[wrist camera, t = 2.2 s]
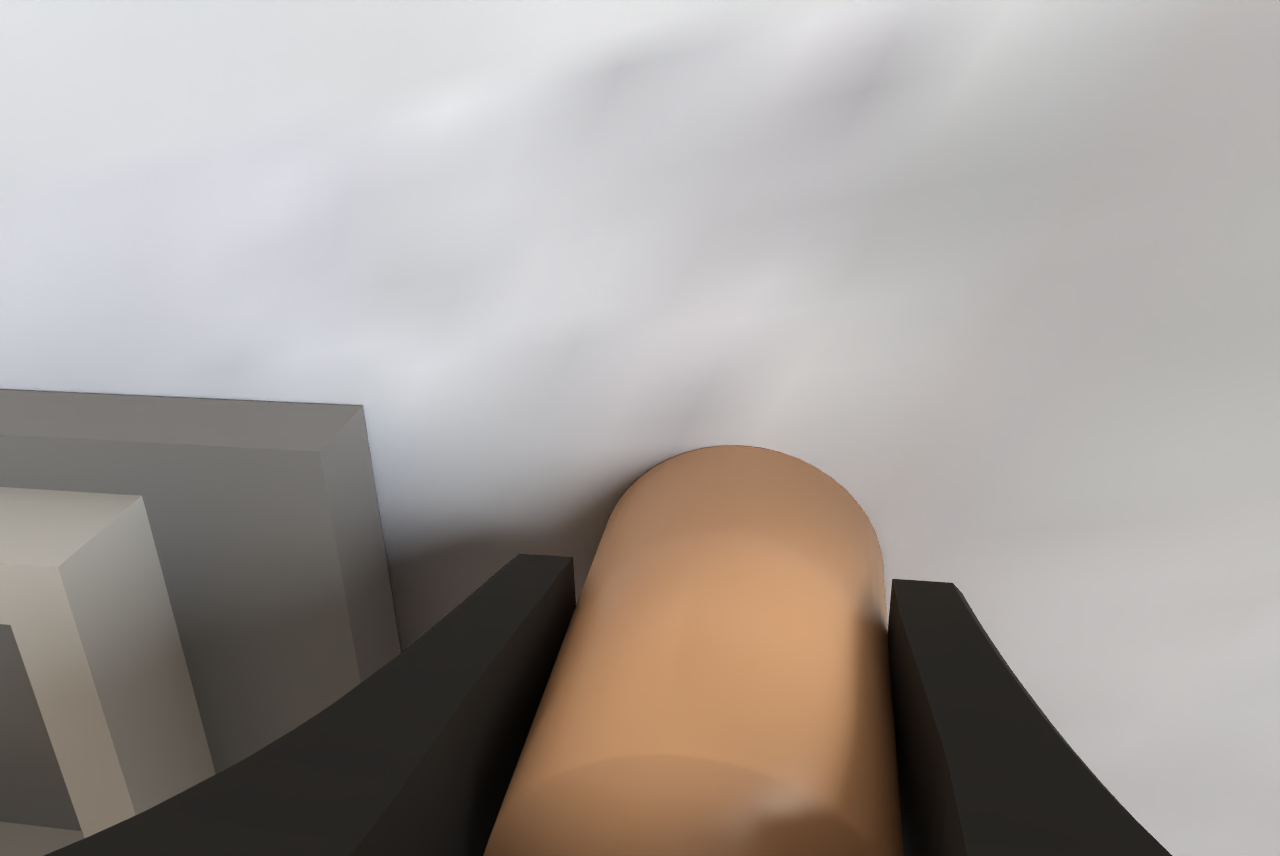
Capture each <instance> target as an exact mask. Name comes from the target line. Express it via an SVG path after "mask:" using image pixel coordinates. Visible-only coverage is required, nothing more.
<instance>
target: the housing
mask: <svg viewBox="0 0 1280 856" xmlns="http://www.w3.org/2000/svg"><path fill="white" fill-rule="evenodd" d="M399 654H401V649H400V642H399V636H398V629H397V623H396V617H395V610H394V604H393V597H392V591H391V584H390V578H389V571H388V565H387V559H386V552H385V546H384V539H383V533H382V526H381V520H380V513H379V507H378V501H377V494H376V488H375V481H374V475H373V468H372V462H371V455H370V449H369V443H368V436H367V430H366V423H365V417H364V410H363V406H354V405H332V404H310V403H288V402H266V401H244V400H222V399H200V398H178V397H156V396H134V395H112V394H90V393H68V392H46V391H24V390H2V389H0V856H44V855H46V854H49V853H51V852H53V851H56V850H58V849H60V848H63V847H65V846H68V845H70V844H72V843H75V842H77V841H80V840H82V839H84V838H87V837H89V836H91V835H94V834H96V833H98V832H100V831H102V830H105V829H107V828H109V827H111V826H113V825H116V824H118V823H120V822H122V821H124V820H127V819H129V818H131V817H133V816H135V815H138V814H140V813H142V812H144V811H146V810H148V809H150V808H152V807H154V806H156V805H158V804H160V803H162V802H164V801H166V800H167V799H169V798H171V797H173V796H175V795H177V794H179V793H181V792H183V791H185V790H187V789H189V788H191V787H192V786H194V785H196V784H198V783H200V782H202V781H204V780H206V779H208V778H210V777H212V776H214V775H216V774H217V773H219V772H221V771H223V770H225V769H227V768H229V767H231V766H233V765H235V764H236V763H238V762H240V761H242V760H243V759H245V758H247V757H249V756H250V755H252V754H254V753H256V752H257V751H259V750H261V749H262V748H264V747H265V746H267V745H269V744H270V743H272V742H274V741H275V740H277V739H279V738H280V737H282V736H284V735H285V734H287V733H288V732H290V731H292V730H293V729H295V728H297V727H298V726H300V725H301V724H303V723H304V722H306V721H307V720H309V719H310V718H312V717H314V716H315V715H317V714H318V713H320V712H321V711H323V710H324V709H326V708H327V707H328V706H330V705H331V704H333V703H334V702H336V701H337V700H339V699H340V698H341V697H343V696H344V695H345V694H347V693H348V692H349V691H351V690H352V689H353V688H355V687H356V686H357V685H359V684H360V683H361V682H363V681H364V680H366V679H367V678H368V677H370V676H371V675H372V674H374V673H375V672H376V671H378V670H379V669H380V668H382V667H383V666H384V665H386V664H387V663H388V662H390V661H391V660H392V659H394V658H395V657H397V656H398V655H399Z"/></svg>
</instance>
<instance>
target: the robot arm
mask: <svg viewBox="0 0 1280 856" xmlns="http://www.w3.org/2000/svg"><path fill="white" fill-rule="evenodd" d="M575 608H576V598H575V583H574V568H573V557H559V556H544V555H529V554H519V555H518V556H516V557H515V558H514V559H513V560H511V561H510V562H509V563H508V564H506V565H505V566H504V567H503V568H502V569H501V570H499V571H498V572H497V573H496V574H495V575H494V576H492V577H491V578H490V579H489V580H488V581H487V582H485V583H484V584H483V585H482V586H481V587H480V588H478V589H477V590H476V591H475V592H474V593H473V594H471V595H470V596H469V597H468V598H467V599H466V600H464V601H463V602H462V603H461V604H460V605H459V606H457V607H456V608H455V609H454V610H453V611H452V612H450V613H449V614H448V615H447V616H446V617H445V618H443V619H442V620H441V621H440V622H439V623H437V624H436V625H435V626H434V627H433V628H431V629H430V630H429V631H428V632H426V633H425V634H424V635H423V636H422V637H420V638H419V639H418V640H417V641H415V642H414V643H413V644H412V645H411V646H409V647H408V648H407V649H406V650H404V651H403V652H402V653H401V654H399V655H398V656H397V657H395V658H394V659H392V660H391V661H390V662H388V663H387V664H386V665H384V666H383V667H382V668H380V669H379V670H378V671H376V672H375V673H374V674H372V675H371V676H370V677H368V678H367V679H366V680H364V681H363V682H361V683H360V684H359V685H357V686H356V687H355V688H353V689H352V690H351V691H349V692H348V693H347V694H345V695H344V696H343V697H341V698H340V699H339V700H337V701H336V702H334V703H333V704H331V705H330V706H328V707H327V708H326V709H324V710H323V711H321V712H320V713H318V714H317V715H315V716H314V717H312V718H310V719H309V720H307V721H306V722H304V723H303V724H301V725H300V726H298V727H297V728H295V729H293V730H292V731H290V732H288V733H287V734H285V735H284V736H282V737H280V738H279V739H277V740H275V741H274V742H272V743H270V744H269V745H267V746H265V747H264V748H262V749H261V750H259V751H257V752H256V753H254V754H252V755H250V756H249V757H247V758H245V759H243V760H242V761H240V762H238V763H236V764H235V765H233V766H231V767H229V768H227V769H225V770H223V771H221V772H219V773H217V774H216V775H214V776H212V777H210V778H208V779H206V780H204V781H202V782H200V783H198V784H196V785H194V786H192V787H191V788H189V789H187V790H185V791H183V792H181V793H179V794H177V795H175V796H173V797H171V798H169V799H167V800H166V801H164V802H162V803H160V804H158V805H156V806H154V807H152V808H150V809H148V810H146V811H144V812H142V813H140V814H138V815H135V816H133V817H131V818H129V819H127V820H124V821H122V822H120V823H118V824H116V825H113V826H111V827H109V828H107V829H105V830H102V831H100V832H98V833H96V834H94V835H91V836H89V837H87V838H84V839H82V840H80V841H77V842H75V843H72V844H70V845H68V846H65V847H63V848H60V849H58V850H56V851H53V852H51V853H49V854H46V855H44V856H483V855H484V852H485V849H486V846H487V844H488V841H489V838H490V835H491V832H492V830H493V827H494V824H495V822H496V819H497V816H498V814H499V811H500V808H501V806H502V803H503V800H504V798H505V795H506V792H507V790H508V787H509V784H510V782H511V779H512V776H513V774H514V771H515V768H516V766H517V763H518V760H519V758H520V755H521V752H522V750H523V747H524V744H525V741H526V739H527V736H528V733H529V731H530V728H531V725H532V723H533V720H534V717H535V715H536V712H537V709H538V707H539V704H540V701H541V699H542V696H543V693H544V691H545V688H546V685H547V683H548V680H549V677H550V675H551V672H552V669H553V667H554V664H555V661H556V659H557V656H558V653H559V651H560V648H561V645H562V643H563V640H564V637H565V635H566V632H567V629H568V626H569V624H570V621H571V618H572V616H573V613H574V610H575ZM888 646H889V661H890V675H891V689H892V701H893V711H894V722H895V736H896V750H897V764H898V779H899V793H900V807H901V821H902V835H903V850H904V856H1172V855H1171V854H1170V853H1169V852H1168V851H1167V850H1166V849H1165V848H1164V847H1163V846H1162V845H1161V844H1160V843H1159V842H1158V841H1157V840H1156V839H1155V838H1154V837H1153V836H1152V835H1151V834H1150V833H1148V832H1147V831H1146V830H1145V829H1144V828H1143V827H1142V826H1141V825H1140V824H1139V823H1138V822H1137V821H1136V820H1135V819H1134V818H1133V816H1132V815H1131V814H1130V813H1129V812H1128V811H1127V810H1126V809H1125V808H1124V807H1123V806H1122V805H1121V804H1120V803H1119V802H1118V801H1117V799H1116V798H1115V797H1114V796H1113V795H1112V794H1111V793H1110V792H1109V791H1108V790H1107V788H1106V787H1105V786H1104V785H1103V784H1102V783H1101V782H1100V781H1099V780H1098V778H1097V777H1096V776H1095V775H1094V774H1093V773H1092V771H1091V770H1090V769H1089V768H1088V767H1087V766H1086V764H1085V763H1084V762H1083V761H1082V760H1081V759H1080V757H1079V756H1078V755H1077V754H1076V753H1075V752H1074V751H1073V749H1072V748H1071V747H1070V746H1069V744H1068V743H1067V742H1066V741H1065V740H1064V738H1063V737H1062V736H1061V735H1060V733H1059V732H1058V731H1057V730H1056V728H1055V727H1054V726H1053V725H1052V723H1051V722H1050V721H1049V720H1048V718H1047V717H1046V716H1045V714H1044V713H1043V712H1042V710H1041V709H1040V708H1039V706H1038V705H1037V704H1036V702H1035V701H1034V700H1033V698H1032V697H1031V696H1030V694H1029V693H1028V692H1027V691H1026V689H1025V688H1024V687H1023V685H1022V684H1021V683H1020V681H1019V680H1018V678H1017V677H1016V676H1015V674H1014V673H1013V671H1012V670H1011V669H1010V667H1009V666H1008V664H1007V663H1006V662H1005V660H1004V659H1003V657H1002V656H1001V654H1000V653H999V651H998V650H997V648H996V647H995V645H994V644H993V642H992V641H991V639H990V638H989V636H988V635H987V633H986V632H985V630H984V629H983V627H982V625H981V624H980V622H979V621H978V619H977V617H976V616H975V614H974V613H973V611H972V609H971V608H970V606H969V604H968V603H967V601H966V599H965V597H964V596H963V594H962V593H961V592H960V591H959V589H958V588H957V587H956V586H955V585H954V584H953V583H945V582H931V581H916V580H901V579H892V590H891V601H890V612H889V623H888Z"/></svg>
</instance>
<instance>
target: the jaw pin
mask: <svg viewBox="0 0 1280 856" xmlns="http://www.w3.org/2000/svg"><path fill="white" fill-rule="evenodd" d="M483 856H904V850H903V835H902V821H901V807H900V793H899V779H898V764H897V750H896V736H895V722H894V711H893V701H892V689H891V675H890V661H889V646H888V623H887V608H886V594H885V580H884V566H883V559H882V553H881V548H880V545H879V541H878V538H877V535H876V533H875V530H874V528H873V526H872V524H871V522H870V520H869V518H868V517H867V515H866V514H865V512H864V511H863V509H862V508H861V506H860V505H859V504H858V502H857V501H856V500H855V499H854V498H853V497H852V496H851V495H850V494H849V492H848V491H847V490H846V489H845V488H843V487H842V486H841V485H840V484H839V483H837V482H836V481H835V480H834V479H833V478H832V477H830V476H828V475H827V474H825V473H824V472H822V471H821V470H819V469H818V468H816V467H814V466H812V465H810V464H808V463H806V462H804V461H802V460H800V459H798V458H795V457H792V456H789V455H787V454H784V453H781V452H777V451H773V450H768V449H764V448H758V447H749V446H717V447H709V448H702V449H698V450H694V451H690V452H686V453H683V454H681V455H678V456H676V457H673V458H670V459H668V460H666V461H664V462H662V463H661V464H659V465H657V466H655V467H653V468H652V469H650V470H649V471H648V472H646V473H645V474H644V475H642V476H641V477H640V478H638V479H637V480H636V481H635V482H634V483H633V484H632V485H631V486H630V487H629V488H628V489H627V490H626V492H625V493H624V494H623V496H622V497H621V498H620V500H619V501H618V502H617V504H616V506H615V508H614V509H613V511H612V513H611V515H610V517H609V520H608V522H607V525H606V528H605V530H604V533H603V536H602V538H601V541H600V544H599V546H598V549H597V552H596V554H595V557H594V560H593V562H592V565H591V568H590V570H589V573H588V576H587V578H586V581H585V584H584V586H583V589H582V592H581V594H580V597H579V600H578V602H577V605H576V608H575V610H574V613H573V616H572V618H571V621H570V624H569V626H568V629H567V632H566V635H565V637H564V640H563V643H562V645H561V648H560V651H559V653H558V656H557V659H556V661H555V664H554V667H553V669H552V672H551V675H550V677H549V680H548V683H547V685H546V688H545V691H544V693H543V696H542V699H541V701H540V704H539V707H538V709H537V712H536V715H535V717H534V720H533V723H532V725H531V728H530V731H529V733H528V736H527V739H526V741H525V744H524V747H523V750H522V752H521V755H520V758H519V760H518V763H517V766H516V768H515V771H514V774H513V776H512V779H511V782H510V784H509V787H508V790H507V792H506V795H505V798H504V800H503V803H502V806H501V808H500V811H499V814H498V816H497V819H496V822H495V824H494V827H493V830H492V832H491V835H490V838H489V841H488V844H487V846H486V849H485V852H484V855H483Z"/></svg>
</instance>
